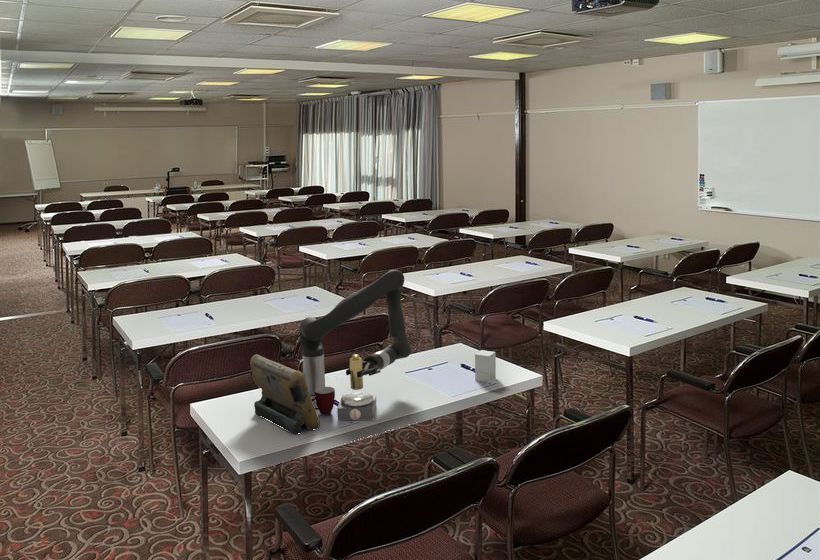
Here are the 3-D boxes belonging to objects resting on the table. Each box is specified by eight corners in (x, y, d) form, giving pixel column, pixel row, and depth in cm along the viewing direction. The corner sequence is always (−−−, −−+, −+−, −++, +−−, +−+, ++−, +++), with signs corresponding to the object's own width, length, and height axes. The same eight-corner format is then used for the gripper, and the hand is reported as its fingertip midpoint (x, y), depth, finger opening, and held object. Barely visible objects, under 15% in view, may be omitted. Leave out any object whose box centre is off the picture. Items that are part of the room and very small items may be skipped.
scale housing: (337, 420, 267) (337, 408, 266) (343, 406, 281) (342, 395, 280) (372, 420, 266) (372, 408, 265) (376, 406, 280) (376, 395, 279)
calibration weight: (350, 389, 270) (348, 357, 267) (351, 385, 274) (350, 353, 272) (362, 389, 269) (361, 357, 266) (363, 385, 274) (362, 353, 271)
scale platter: (338, 406, 267) (338, 404, 267) (343, 394, 280) (343, 392, 279) (371, 406, 266) (371, 404, 266) (374, 394, 279) (374, 392, 279)
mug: (316, 420, 268) (314, 396, 266) (306, 414, 274) (305, 390, 272) (339, 413, 274) (338, 390, 272) (329, 407, 280) (328, 385, 278)
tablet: (326, 425, 262) (323, 364, 257) (298, 437, 252) (295, 374, 247) (274, 405, 284) (270, 348, 279) (246, 416, 273) (242, 357, 268)
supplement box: (496, 378, 311) (496, 351, 309) (489, 383, 305) (489, 356, 303) (481, 375, 315) (481, 349, 313) (474, 380, 309) (474, 353, 307)
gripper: (362, 350, 285) (337, 362, 271) (391, 355, 278) (366, 367, 264) (363, 367, 287) (338, 379, 273) (391, 373, 279) (367, 386, 265)
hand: (352, 373), depth 268 cm, fingers closed on calibration weight, 5 cm apart
